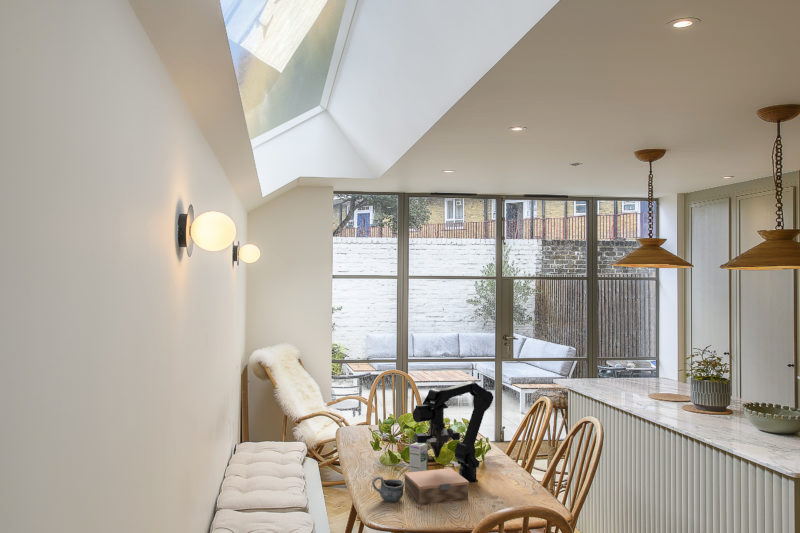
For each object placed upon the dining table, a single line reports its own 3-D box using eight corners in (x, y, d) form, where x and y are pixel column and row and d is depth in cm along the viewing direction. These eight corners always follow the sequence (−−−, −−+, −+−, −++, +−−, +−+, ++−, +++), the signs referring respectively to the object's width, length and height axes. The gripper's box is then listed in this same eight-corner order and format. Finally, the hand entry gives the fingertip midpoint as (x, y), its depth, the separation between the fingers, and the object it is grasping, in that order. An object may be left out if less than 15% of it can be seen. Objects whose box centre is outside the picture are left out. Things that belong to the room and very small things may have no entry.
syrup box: (420, 480, 262) (420, 446, 262) (409, 477, 266) (409, 444, 266) (427, 477, 267) (427, 443, 267) (416, 474, 270) (416, 441, 271)
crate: (450, 485, 256) (450, 470, 256) (468, 499, 238) (468, 484, 239) (404, 490, 249) (404, 475, 250) (419, 505, 232) (419, 489, 232)
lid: (450, 472, 256) (450, 467, 256) (469, 486, 238) (469, 481, 238) (404, 477, 249) (404, 472, 249) (420, 492, 231) (420, 486, 231)
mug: (408, 502, 235) (408, 476, 235) (378, 508, 230) (378, 481, 230) (397, 495, 244) (397, 469, 244) (368, 499, 238) (368, 473, 239)
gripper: (422, 425, 244) (422, 465, 243) (465, 422, 250) (465, 461, 249) (413, 419, 254) (413, 457, 254) (454, 416, 260) (454, 453, 260)
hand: (436, 457), depth 254 cm, fingers closed
